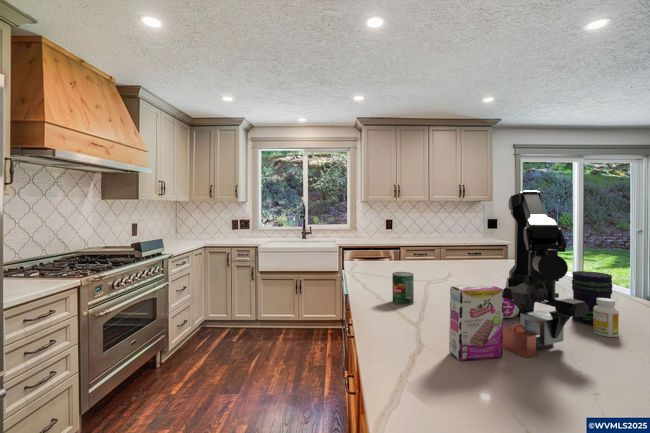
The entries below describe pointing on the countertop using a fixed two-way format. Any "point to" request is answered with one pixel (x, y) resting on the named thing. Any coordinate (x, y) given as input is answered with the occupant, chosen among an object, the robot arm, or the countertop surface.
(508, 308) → the supplement can
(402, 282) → the canned tomato
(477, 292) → the candy bar box
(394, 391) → the countertop surface
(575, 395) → the countertop surface
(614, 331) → the supplement bottle
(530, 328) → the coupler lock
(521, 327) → the coupler rail
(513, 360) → the countertop surface
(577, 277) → the storage jar
